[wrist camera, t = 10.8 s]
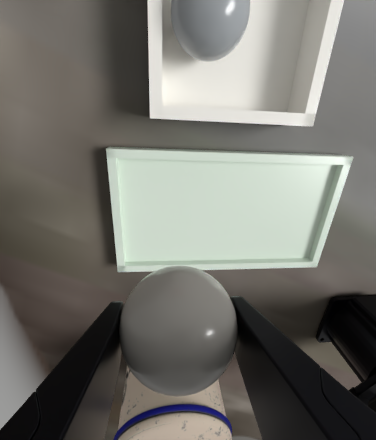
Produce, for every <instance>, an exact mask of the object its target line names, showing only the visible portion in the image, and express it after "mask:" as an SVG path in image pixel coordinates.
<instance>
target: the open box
mask: <svg viewBox="0 0 376 440" xmlns="http://www.w3.org/2000/svg"><path fill="white" fill-rule="evenodd" d="M343 3H344V0H250V15H249V21H248V25H247V28H246V30H245V33H244V35H243V37H242V39H241V41H240V42H239V44H238V45H237V46H236V47H235V49H234V50H233V51H232V52H231V53H229V54H228V55H227V56H225V57H223V58H221V59H219V60H216V61H211V62H205V61H200V60H197V59H195V58H193V57H191V56H190V55H188V54H187V53H186V52H185V51H184V50H183V49H182V47H181V46H180V44H179V43H178V41H177V39H176V37H175V34H174V31H173V28H172V23H171V0H148V49H149V100H150V118H152V119H172V120H192V121H213V122H233V123H253V124H273V125H294V126H313V123H314V119H315V115H316V111H317V107H318V103H319V99H320V95H321V91H322V87H323V83H324V79H325V75H326V71H327V67H328V63H329V59H330V55H331V51H332V47H333V43H334V39H335V35H336V31H337V27H338V23H339V19H340V15H341V11H342V7H343Z"/></svg>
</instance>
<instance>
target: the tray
mask: <svg viewBox="0 0 376 440" xmlns="http://www.w3.org/2000/svg"><path fill="white" fill-rule="evenodd" d="M106 154H107V164H108V175H109V185H110V196H111V206H112V217H113V227H114V237H115V248H116V258H117V269H118V272H142V271H157V270H159V269H162V268H165V267H169V266H189V267H194V268H197V269H200V270H222V269H261V268H301V267H317V265H318V262H319V259H320V256H321V253H322V250H323V247H324V244H325V241H326V238H327V235H328V232H329V229H330V226H331V223H332V220H333V217H334V214H335V211H336V208H337V205H338V202H339V199H340V196H341V193H342V190H343V187H344V184H345V181H346V178H347V175H348V172H349V169H350V166H351V163H352V160H353V157H350V156H346V155H337V154H309V153H280V152H251V151H223V150H194V149H165V148H137V147H108V148H106Z"/></svg>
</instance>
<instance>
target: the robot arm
mask: <svg viewBox="0 0 376 440" xmlns="http://www.w3.org/2000/svg"><path fill="white" fill-rule="evenodd" d="M230 299H231V301H232V303H233V306H234V309H235V313H236V317H237V325H238V335H237V343H236V348H235V354H236V358H237V362H238V365H239V368H240V371H241V374H242V377H243V381H244V384H245V387H246V390H247V393H248V396H249V399H250V402H251V405H252V409H253V412H254V415H255V418H256V421H257V424H258V427H259V430H260V433H261V436H262V440H376V296H352V297H334V298H332V299H331V300H330V302H329V305H328V307H327V310H326V312H325V315H324V318H323V320H322V323H321V325H320V328H319V330H318V333H317V336H316V339H317V340H318V342H332V343H333V345H334V346H335V347H336V349H337V350H338V351H339V353H340V354H341V355H342V357H343V358H344V359H345V361H346V362H347V363H348V365H349V366H350V367H351V369H352V370H353V371H354V373H355V374H356V375H357V377H358V378H359V379H360V381H361V382H362V383H360V384H359V385H358V386H356V387H355V388H354V387H353V388H351V389H350V390H349V391H348V390H347V389H346V388H345V387H344V386H342V385H341V384H340V383H339V382H338V381H337V380H335V379H334V378H333V377H332V376H331V375H330V374H329V373H327V372H326V371H325V370H324V369H323V368H320V366H319V365H318V364H317V363H316V362H315V361H314V360H313V359H312V358H310V357H309V356H308V355H307V354H306V353H305V352H304V351H303V350H301V349H300V348H299V347H298V346H297V345H296V344H295V343H293V342H292V341H291V340H290V339H289V338H288V337H287V336H286V335H284V334H283V333H282V332H281V331H280V330H279V329H278V328H277V327H275V326H274V325H273V324H272V323H271V322H270V321H269V320H268V319H266V318H265V317H264V316H263V315H262V314H261V313H260V312H259V311H257V310H256V309H255V308H254V307H253V306H252V305H251V304H249V303H248V302H247V301H246V300H245V299H244V298H243V297H241V296H232V297H231V298H230ZM123 307H124V305H123V302H122V301H118V302H111V303H110V304H109V305H108V306H107V307H106V309H105V310H104V311H103V312H102V313H101V314H100V316H99V317H98V318H97V319H96V320H95V321H94V323H93V324H92V325H91V326H90V327H89V328H88V330H87V331H86V332H85V333H84V334H83V335H82V337H81V338H80V339H79V340H78V341H77V342H76V344H75V345H74V346H73V347H72V348H71V349H70V351H69V352H68V353H67V354H66V355H65V356H64V358H63V359H62V360H61V361H60V362H59V363H58V365H57V366H56V367H55V368H54V369H53V370H52V371H51V373H50V374H49V375H48V376H47V377H46V379H45V380H44V381H43V382H42V383H41V384H40V385H39V387H38V388H37V389H36V392H33V393H32V395H31V396H30V397H29V398H28V399H27V401H26V402H25V403H24V404H23V405H22V406H21V407H20V408H19V410H18V411H17V412H16V413H15V414H14V415H13V416H12V418H11V419H10V420H9V421H8V422H7V423H6V424H5V425H4V426H3V427H2V428H1V430H0V440H104V437H105V433H106V428H107V424H108V419H109V415H110V410H111V406H112V401H113V397H114V392H115V388H116V383H117V379H118V374H119V369H120V362H121V353H122V351H121V347H120V342H119V324H120V317H121V313H122V310H123Z"/></svg>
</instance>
